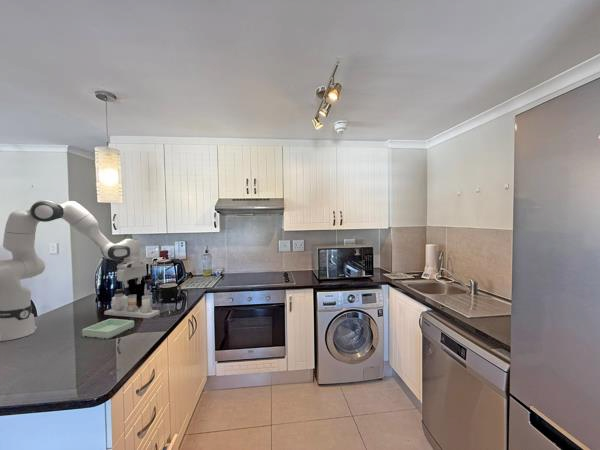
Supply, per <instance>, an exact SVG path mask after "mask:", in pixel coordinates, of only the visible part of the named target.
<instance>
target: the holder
mask: <svg viewBox="0 0 600 450" xmlns="http://www.w3.org/2000/svg"><path fill="white" fill-rule="evenodd" d="M114 308H115V305H113V308H110V309H108V310H104V315H105V316H106V315H107V316H116V317H128V318H129V317H130V318H139V319H140V318H141V319H151V318H152V317H155V316H158V315H159V314H160V310H158V309H153V307H152V306H150V308H149V313H142V306H140V307H139V306H137V305H136V307H135V311H134V312H128V306H126V307H125V305H122V306H121V310H120V311H114Z"/></svg>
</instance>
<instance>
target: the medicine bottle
mask: <svg viewBox="0 0 600 450" xmlns="http://www.w3.org/2000/svg"><path fill="white" fill-rule="evenodd" d="M119 293H123V305H125V308H126V306H128V295H126V289H123V288H120V289H116V290H114V295H115V294H119ZM113 305H115V297H114V296H113V297H111V309H113Z"/></svg>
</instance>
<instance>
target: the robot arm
mask: <svg viewBox="0 0 600 450" xmlns="http://www.w3.org/2000/svg"><path fill="white" fill-rule="evenodd" d="M58 219H62V220H64V221H66V222H67V223H68V224H69V225H70V226H71V227H72V228H73V229H75V230H76V231H77V232H79V233H80V234H83V235H84V236H86V237H88V238H89V239H90V240H91V241H92V242H93V243H94V244H95V245H96V246H98V248H99V249H100V250H101V251H100V252H101V254H102V256H103V257H104V258H105V259H106V260H107V259H108V260H113V261H119V260H120V261H121V260H123V261H122V262H121V263H119V264H117V265H116V269H117V270H116V281H118V282H122V284H123V285H124V288H125V289H126V288H129V284H128V281H130V280H134V279H137V281H136V284H137V285H139V284H142V283H141V281H142V279H143V277H145V276H147V273H148V270H147V266H146V262H144V261H141V259H142V258H141V256H140V255H141V244H140V240H138V239H137V238H132V237H131V238H129V237H127V238H125V239H123V240H121V241H119V242H117V243H115V242H114V243H113V242H111V241H110V240H109V239H108V238H107V237H106V236H105V235H104V234H103V233H102V232H101V230H100V228H99V222H98V220H97V219H96V218H95V216H94V215H92V213H91V212H89V210H88V209H86V208H85V207H84V206H82V205H81V204H80V203H78V202H77V201H73V200H68V201H65V202H63V203H60V204H58V203H57V202H55V201H54V200H50V199H42V200H41V199H40V200H37V201H36V202H34V203H33V204H32V205H31V207H30V209H28V210H23V209H22V210H21V209H20V210H15V211H12V212H10V213H9V216H8V218H7V220H6V223H5V227H4V233H3V241H2V247H3V249H4V250H6V251H7V252H10V253H11V255H12V258H10V259H5V260H3V259H2V260H0V342H5V341H11V340H12V341H13V340H17V339H20V338H23V337H27V336H30V335H32V334H34V333H36V330H37V329H38V326H37V325H36V321H35V315H34V314H33V313H32V312H33V306H32V303H31V300H32V294H31V293H32V292H31V290H30V289H29V288H27V287H25V286H22V284H21V280H25V279H29V278H33V277H37V276H39V275H41V274H43V272H44V271H45V269H46V264H45V262H44V260H43V259H42V258H40V257H39V256H38V255H37V252H36V249H35V242H36V241H35V240H36V232H37V226H38V224H39V223H40V222H42V223H44V222H45V223H48V222H51V221H54V220H58Z"/></svg>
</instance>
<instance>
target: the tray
mask: <svg viewBox="0 0 600 450" xmlns="http://www.w3.org/2000/svg"><path fill="white" fill-rule="evenodd" d="M133 328H135V320H132V319H131V320H130V319H121V318H120V319H118V318H108V319H105V320H102V321H100V322H97V323H95V324H93V325H89V326H88V327H84V328H83V329H81V337H85V336H87V338H94V337H97V338H96V339H104V338H106V340H107V339H108V340H110V339H112V338H113V337H114V338H115V337H116V336H118V335H121V334H123V333H124V331H125V332H127V331H129V330H130V329H133ZM128 329H129V330H128ZM126 330H127V331H126ZM109 338H110V339H109Z"/></svg>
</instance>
